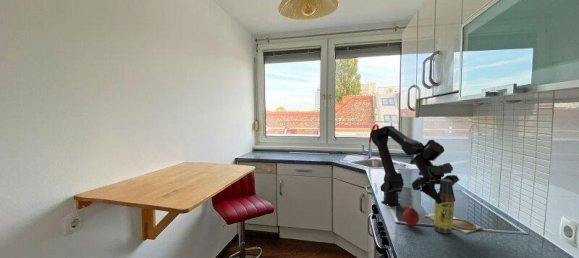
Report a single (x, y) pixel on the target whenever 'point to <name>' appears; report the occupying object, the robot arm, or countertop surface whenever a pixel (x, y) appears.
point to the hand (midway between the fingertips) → (447, 202)
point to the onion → (410, 216)
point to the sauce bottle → (444, 208)
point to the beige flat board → (460, 224)
